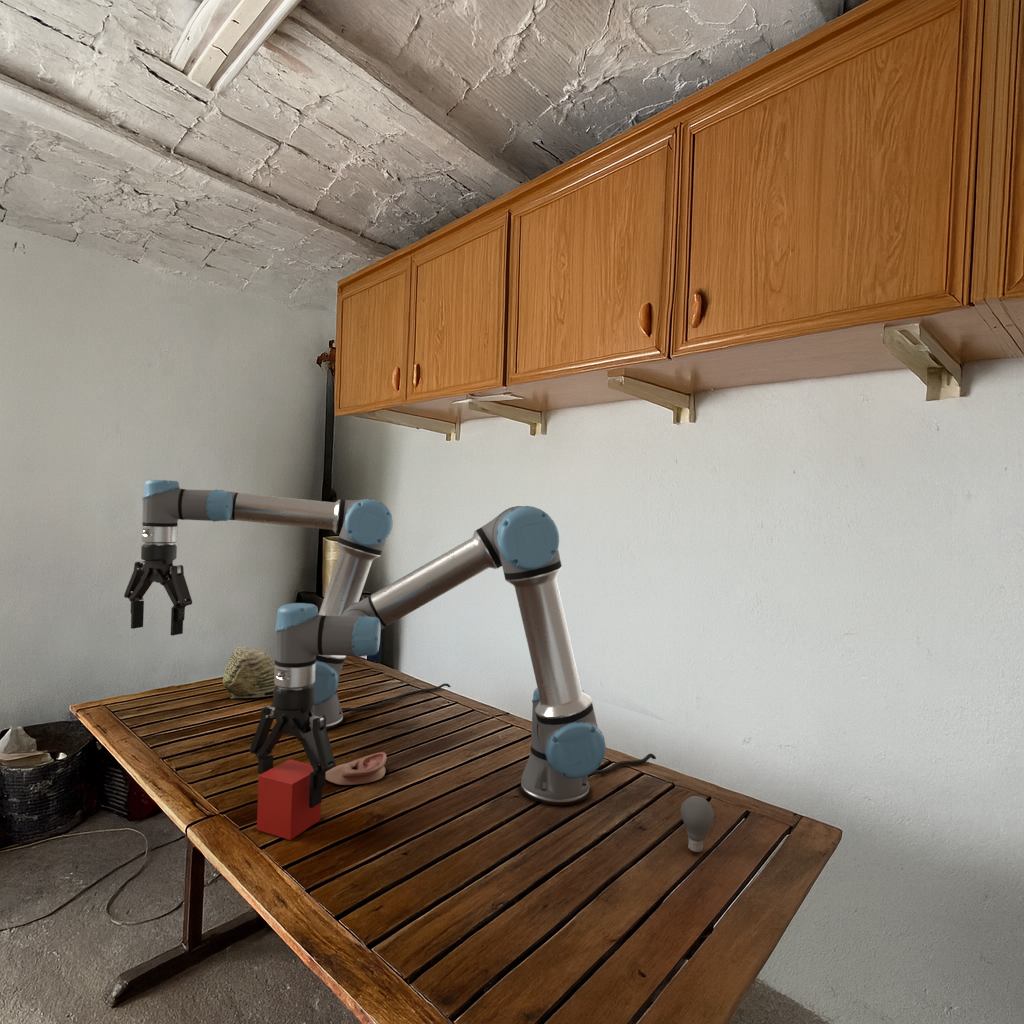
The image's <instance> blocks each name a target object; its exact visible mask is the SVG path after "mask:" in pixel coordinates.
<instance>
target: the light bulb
mask: <svg viewBox="0 0 1024 1024" xmlns="http://www.w3.org/2000/svg"><path fill="white" fill-rule="evenodd" d="M680 817H681V820H682V822H683V824H684V826H685V829H686V834H687V836H688V837H687V838H688V845H687V847H688V849H689V850H690V851H692V852H695V853H699V852H702V851H703V848H704V847H703V846H704V839H705V838H706V833H707V831H708V830H709V829H710V828H711V826H712V824H713V822H714V818H715V813H714V809H713V807H712V805H711V804H710V802H709V801H708V800H707V799H705V797H702V796H699V795H692V796H689V797H687V798H686V799H685V800H684V801H683V802H682V803H681V805H680Z"/></svg>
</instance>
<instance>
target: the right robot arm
mask: <svg viewBox="0 0 1024 1024" xmlns="http://www.w3.org/2000/svg"><path fill="white" fill-rule="evenodd" d="M559 546H560V533H559V529H558V526H557V525H556V523H555V521H554V520H553V518H552V517H551V516H550V515H549V514H548V513H547V512H546V511H544V510H542V509H541V508H538V507H536V506H531V505H516V506H512V507H508V508H507V509H505V510H503V511H501V512H500V513H499V514H498V515H497V516H495V517H494V518H493V519H491V520H490V521H488V522H487V523H486V524H484V525H482V526H481V527H480V528H477V529H476V530H474V531H473V533H472V537H471V538H469V539H467V540H465V541H464V542H462V543H460V544H458V545H457V546H454V547H453V548H451V549H450V550H448V551H446V552H445V553H443V554H441V555H439V556H437V557H435V558H434V559H431V560H430V561H428V562H427V563H425V564H423V565H422V566H419V567H418V568H416V569H415V570H413V571H411V572H409V573H408V574H406V575H404V576H402V577H401V578H399V579H397V580H395V581H393V582H392V583H389V584H388V585H386V586H385V587H382V588H380V589H379V590H376V591H375V592H374V593H372V594H370V595H369V596H367V597H365V598H363V599H362V600H359V602H357V603H353V604H351V605H350V606H348V607H347V608H346V609H345V610H344V611H343V613H342V615H341V616H323V615H319V609H318V606H317V605H315V604H314V603H306V602H292V603H286V604H283V605H281V606H280V607H279V608H278V609H277V611H276V612H277V613H276V621H275V623H276V624H275V628H274V632H275V636H274V637H275V638H274V640H275V641H274V642H275V644H274V663H275V668H274V684H275V685H276V686H275V688H274V689H273V695H272V704H270V705H267V706H264V707H262V708H261V709H260V719H259V723H258V725H257V728H256V731H255V733H254V735H253V739H252V741H251V745H250V747H249V753H250V754H252V755H253V754H254V755H256V758H257V774H258V775H260V774H262V773H264V772H266V771H268V770H270V769H272V768H274V757H275V756H274V755H271V754H272V753H273V751H274V749H275V747H276V745H277V744H278V743H279V741H280V739H281V738H282V737H283V735H284V734H285V735H288V734H289V735H291V736H292V737H295V738H296V740H297V741H298V742H300V743H301V746H302V748H303V750H304V753H305V754H306V757H307V759H308V761H309V764H311V765H312V768H313V770H314V771H313V772H311V773H310V791H309V807H310V808H313V807H315V806H316V805H318V804H319V803H321V804H322V802H323V789H324V788H325V786H326V779H325V777H326V771H328V770H330V769H332V768H334V767H336V761H335V755H334V753H333V749H332V745H331V741H330V737H329V734H328V730H327V729H326V716H325V715H322V716H320V717H318V716H313V713H312V706H313V704H314V694H315V686H314V685H313V683H314V682H315V670H316V655H341V656H346V657H359V658H361V657H367V656H369V657H370V656H376V655H377V654H378V653H379V650H380V645H381V633H382V632H381V630H384V629H385V628H387V627H388V626H389V625H392V624H393V623H395V622H396V621H398V620H401V619H402V618H404V617H405V616H407V615H409V614H411V613H413V612H414V611H416V610H418V609H419V608H421V607H423V606H425V605H426V604H428V603H430V602H432V601H433V600H435V599H437V598H439V597H441V596H442V595H444V594H446V593H447V592H449V591H451V590H453V589H455V588H457V587H459V586H460V585H462V584H464V583H465V582H467V581H470V580H471V579H472V578H474V577H476V576H478V575H479V574H481V573H483V572H485V571H487V570H488V569H493V570H498V569H500V568H501V567H502V572H503V575H504V576H503V577H504V581H506V582H507V583H509V584H510V585H512V586H513V587H514V590H515V595H516V599H517V604H518V607H519V612H520V617H521V621H522V625H523V629H524V634H525V639H526V643H527V649H528V652H529V656H530V661H531V665H532V669H533V674H534V679H535V683H536V688H535V689H534V691H533V694H532V699H531V703H532V709H531V710H532V711H531V712H532V713H531V733H530V734H531V735H530V737H531V738H530V753H529V757H528V759H527V762H526V765H525V766H524V769H523V773H522V775H521V779H520V791H521V792H522V794H524V796H525V797H527V798H528V799H530V800H532V801H535V802H536V803H540V804H544V805H551V806H571V805H575V804H579V803H581V802H583V801H585V800H586V799H587V798H588V797H589V794H590V781H589V777H591V776H598V775H604V774H607V773H610V772H612V771H614V770H616V769H617V768H618V767H621V766H632V765H633V766H634V765H635V766H636V765H641V764H645V763H646V762H647V761H649V759H652V760H656V759H657V757H656V755H655V754H653V753H648V754H647V755H646V756H644V757H643V758H641V759H635V760H621V761H618V762H614V763H613V764H612V765H610V766H608V767H606V768H602V769H599V767H600V766H601V764H602V763H603V761H604V759H605V756H606V751H607V750H606V749H607V745H606V740H605V736H604V735H603V732H602V731H601V729H600V728H599V726H598V723H597V718H596V713H595V709H594V704H593V700H592V697H591V696H590V695H589V694H587V693H585V690H584V689H582V685H581V681H580V676H579V672H578V668H577V663H576V659H575V655H574V650H573V645H572V640H571V636H570V631H569V627H568V622H567V618H566V614H565V609H564V604H563V600H562V596H561V591H560V587H559V582H558V576H559V574H560V572H561V570H562V568H563V565H562V560H561V557H560V551H559ZM274 720H275V724H274V725H273V722H274ZM310 723H311V724H312V725H311V724H310ZM272 725H273V727H272ZM305 730H306V731H307V732H305ZM270 731H271V732H270Z"/></svg>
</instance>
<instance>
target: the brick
mask: <svg viewBox="0 0 1024 1024" xmlns="http://www.w3.org/2000/svg"><path fill="white" fill-rule="evenodd" d="M313 771H314V770H313V768H312V765H311V763H306V762H302V761H300V760H299V761H298V760H295V759H288V760H286V761H284V762H282V763H279V764H278V765H276V766H273V768H272V769H270V770H268V771H266V772H264V773H262V774H258V781H257V782H258V783H257V812H256V817H257V818H256V831H259V832H261V833H266V834H269V835H272V836H274V837H278V838H282V839H285V840H288V841H291V840H293V839H294V838H297V836H299V835H300V834H302V833H303V832H305V831H306V830H307V829H309V828H311V827H312V826H313V825H316V823H318V822H320V821H321V813H322V812H321V811H322V810H321V808H322V802H321V803H319V804H318V805H316V806H315V807H313V808H310V807H309V791H310V773H311V772H313Z"/></svg>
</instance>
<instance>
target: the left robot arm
mask: <svg viewBox="0 0 1024 1024" xmlns="http://www.w3.org/2000/svg"><path fill="white" fill-rule="evenodd" d="M142 494H143V495H142V499H141V500H142V523H141V526H142V527H141V529H142V530H141V542H142V543H143V544H142V545H141V547H140V548H141V549H140V559H141V561H135V562H134V565H133V571H132V574H131V576H130V579H129V581H128V584H127V587H126V589H125V592H124V594H123V597H124V599H128V600H129V602H130V629H131V630H134V629H138V628H144V613H145V612H144V610H145V600H144V596H145V595H146V593H147V591H148V590H149V589H150V587H151V586H152V585H153V583H157V584H160V586H163V587H164V589H165V592H166V594H167V595H168V597H169V599H170V601H171V603H172V605H173V606H172V607H171V608H170V609H171V610H170V611H171V612H170V636H178V635H182V634H183V633H184V621H185V615H186V614H185V613H186V607H187V606H191V605H193V599H192V596H191V593H190V590H189V587H188V586H189V585H188V584H187V580H186V577H185V573H184V572H185V571H184V570H185V569H184V565H182V564H179V565H174V560H176V559H177V557H178V556H177V553H178V545H176V544H175V543H178V532H179V531H178V526H179V525H178V521H179V520H181V521H185V520H186V521H187V520H188V521H205V522H206V521H208V522H227V521H241V522H249V523H260V524H268V525H280V526H289V527H290V526H291V527H301V528H311V529H321V530H331V531H333V532H334V534H335V535H339V536H338V538H337V540H336V541H337V542H336V544H337V546H338V548H339V554H338V557H337V559H336V563H335V565H334V568H333V571H332V574H331V577H330V580H329V582H328V585H327V589H326V591H325V594H324V597H323V599H322V603H321V605H320V608H319V611H318V613H319V615H323V616H341V615H342V613H343V611H344V610H345V609H346V608H347V607H348V606H350V605H351V604H353V603H357V602H360V598H361V597H362V596H361V595H362V593H363V590H364V588H365V585H366V581H367V578H368V575H369V572H370V569H371V566H372V564H373V561H374V560H376V559H379V558H380V557H381V556H382V553H383V550H384V547H385V544H386V542H387V538H389V536H390V534H391V532H392V530H393V524H394V523H393V515H392V513H391V511H390V509H389V508H388V506H387V505H385V504H384V503H383V502H382V501H379V500H377V499H372V498H362V499H337V500H336V501H335V502H333V501H325V500H324V501H323V500H314V499H305V498H295V497H285V496H276V495H266V494H256V493H246V492H235V491H227V490H224V489H223V490H222V489H213V490H212V489H186V488H181V487H180V483H179V481H178V480H169V479H168V480H165V479H148V480H147V479H146V481H145V482H144V485H143V493H142ZM346 658H347V656H341V655H316V670H315V682H314V683H313V685H314V686H315V694H314V704H313V706H312V713H313V716H318V717H320V716H322V715H325V716H326V729H327V731H329V730H332V729H335V728H337V727H339V726H340V725H342V723H343V722H344V714H343V712H345V711H349V712H358V711H366V710H370V709H375V708H379V707H382V706H385V705H388V704H390V703H391V702H393V701H395V700H398V699H400V698H403V697H406V696H410V695H413V694H419V693H424V692H432V691H437V690H439V689H441V688H444V687H447V688H451V687H452V686H451V685H450V684H449V683H446V682H445V683H441V684H440V685H438V686H436V687H431V688H424V689H417V690H412V691H408V692H405V693H402V694H399V695H395V696H393V697H391V698H390V699H388V700H385V701H383V702H380V703H376V704H373V705H367V706H362V707H342V706H341V702H340V699H339V695H338V688H339V682H340V681H339V679H340V675H341V672H342V670H343V667H344V664H345V660H346ZM310 724H311V723H310ZM311 725H312V724H311ZM304 733H307V731H306V730H305V732H304Z"/></svg>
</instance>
